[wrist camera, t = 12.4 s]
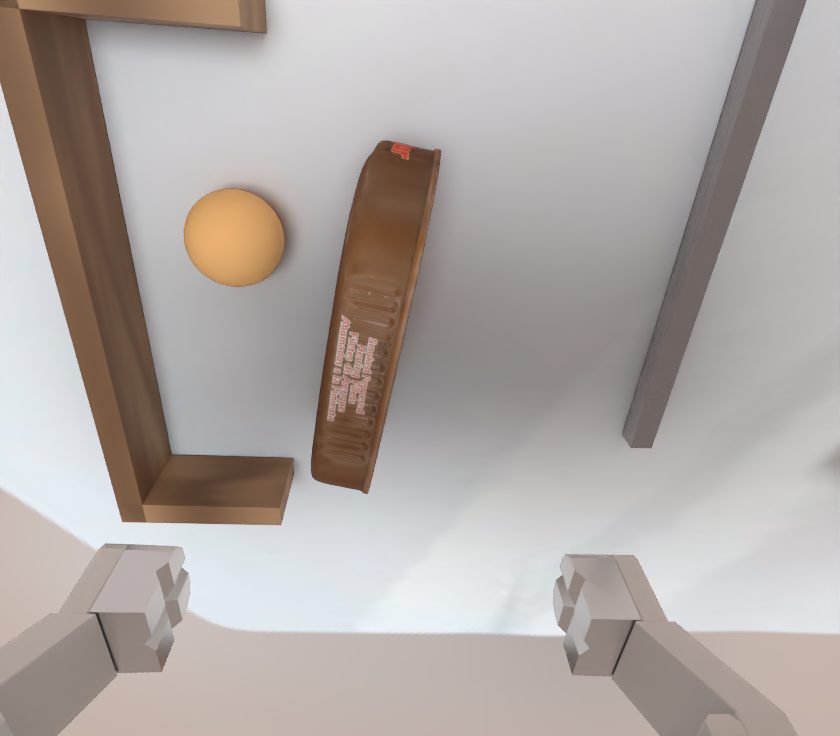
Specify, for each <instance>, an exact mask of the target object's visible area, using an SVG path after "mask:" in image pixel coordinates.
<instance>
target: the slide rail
mask: <svg viewBox="0 0 840 736" xmlns="http://www.w3.org/2000/svg"><path fill="white" fill-rule="evenodd" d="M805 3H806V0H757V1H756V4H755V7H754V11H753V14H752V17H751V20H750V24H749V27H748V30H747V33H746V37H745V40H744V43H743V46H742V50H741V53H740V56H739V59H738V62H737V66H736V69H735V72H734V75H733V79H732V82H731V85H730V88H729V92H728V95H727V98H726V101H725V105H724V108H723V111H722V114H721V118H720V121H719V124H718V127H717V130H716V134H715V137H714V140H713V143H712V147H711V150H710V153H709V156H708V160H707V163H706V166H705V169H704V173H703V176H702V179H701V182H700V186H699V189H698V192H697V195H696V198H695V202H694V205H693V208H692V211H691V215H690V218H689V221H688V224H687V228H686V231H685V234H684V237H683V241H682V244H681V247H680V250H679V254H678V257H677V260H676V263H675V266H674V270H673V273H672V276H671V279H670V283H669V286H668V289H667V292H666V296H665V299H664V302H663V305H662V309H661V312H660V315H659V318H658V322H657V325H656V328H655V331H654V334H653V338H652V341H651V344H650V347H649V351H648V354H647V357H646V360H645V364H644V367H643V370H642V373H641V377H640V380H639V383H638V386H637V390H636V393H635V396H634V399H633V402H632V406H631V409H630V412H629V415H628V419H627V422H626V425H625V428H624V432H623V436H624V438H625V439H626V441H627V443H628V444H629V446H630V448H652V445H653V442H654V439H655V436H656V433H657V430H658V427H659V425H660V422H661V419H662V416H663V413H664V410H665V407H666V404H667V401H668V399H669V396H670V393H671V390H672V387H673V384H674V381H675V378H676V375H677V373H678V370H679V367H680V364H681V361H682V358H683V355H684V352H685V349H686V347H687V344H688V341H689V338H690V335H691V332H692V329H693V326H694V323H695V321H696V318H697V315H698V312H699V309H700V306H701V303H702V300H703V297H704V295H705V292H706V289H707V286H708V283H709V280H710V277H711V274H712V272H713V269H714V266H715V263H716V260H717V257H718V254H719V251H720V248H721V246H722V243H723V240H724V237H725V234H726V231H727V228H728V225H729V222H730V220H731V217H732V214H733V211H734V208H735V205H736V202H737V199H738V196H739V194H740V191H741V188H742V185H743V182H744V179H745V176H746V173H747V170H748V168H749V165H750V162H751V159H752V156H753V153H754V150H755V147H756V144H757V142H758V139H759V136H760V133H761V130H762V127H763V124H764V121H765V118H766V116H767V113H768V110H769V107H770V104H771V101H772V98H773V95H774V92H775V90H776V87H777V84H778V81H779V78H780V75H781V72H782V69H783V66H784V64H785V61H786V58H787V55H788V52H789V49H790V46H791V43H792V40H793V38H794V35H795V32H796V29H797V26H798V23H799V20H800V17H801V14H802V12H803V9H804V6H805Z"/></svg>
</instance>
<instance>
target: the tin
mask: <svg viewBox="0 0 840 736" xmlns="http://www.w3.org/2000/svg"><path fill="white" fill-rule="evenodd" d="M440 157H441V150H439V149H436V150H434V151H431V150H426V149H421V148H417V147H413V146H409V145H405V144H401V143H397V142H392V141H381V142H380V143H378V145H377V146H376V148H375V150H374V151H373V153H372V154H371V155H370V156H369V157H368V159H367V160H366V162H365V164H364V166H363V168H362V171H361V174H360V177H359V180H358V184H357V187H356V191H355V195H354V199H353V203H352V207H351V211H350V215H349V220H348V225H347V230H346V235H345V240H344V245H343V250H342V256H341V262H340V267H339V272H338V278H337V284H336V290H335V297H334V303H333V310H332V316H331V322H330V328H329V335H328V341H327V347H326V354H325V360H324V367H323V374H322V381H321V388H320V395H319V403H318V409H317V416H316V425H315V433H314V440H313V447H312V457H311V473H312V477H313V478H314V479H315V480H317V481H319V482H322V483H326V484H330V485H336V486H341V487H346V488H351V489H357V490H361V491H362V492H363V493H365V494H368V491H369V488H370V484H371V479H372V476H373V472H374V467H375V463H376V459H377V455H378V450H379V445H380V441H381V437H382V433H383V428H384V424H385V420H386V415H387V411H388V406H389V401H390V397H391V392H392V387H393V383H394V379H395V375H396V370H397V366H398V361H399V357H400V352H401V348H402V344H403V339H404V335H405V330H406V325H407V322H408V318H409V313H410V309H411V305H412V300H413V296H414V291H415V287H416V283H417V278H418V273H419V268H420V264H421V258H422V253H423V249H424V245H425V240H426V236H427V229H428V224H429V220H430V214H431V210H432V206H433V200H434V195H435V190H436V184H437V178H438V172H439V165H440Z"/></svg>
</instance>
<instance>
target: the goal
mask: <svg viewBox="0 0 840 736" xmlns="http://www.w3.org/2000/svg"><path fill="white" fill-rule="evenodd" d="M84 19H92V20H105V21H117V22H130V23H142V24H155V25H168V26H180V27H193V28H205V29H218V30H230V31H243V32H255V33H267V29H266V13H265V0H0V83H1V87H2V90H3V94H4V98H5V101H6V105H7V108H8V112H9V116H10V119H11V123H12V126H13V130H14V134H15V137H16V141H17V144H18V148H19V152H20V155H21V159H22V162H23V166H24V170H25V173H26V177H27V180H28V184H29V188H30V191H31V195H32V198H33V202H34V206H35V209H36V213H37V216H38V220H39V224H40V227H41V231H42V234H43V238H44V242H45V245H46V249H47V252H48V256H49V260H50V263H51V267H52V270H53V274H54V278H55V281H56V285H57V288H58V292H59V296H60V299H61V303H62V306H63V310H64V314H65V317H66V321H67V324H68V328H69V332H70V335H71V339H72V342H73V346H74V350H75V353H76V357H77V360H78V364H79V368H80V371H81V375H82V378H83V382H84V386H85V389H86V393H87V396H88V400H89V404H90V407H91V411H92V414H93V418H94V422H95V425H96V429H97V432H98V436H99V440H100V443H101V447H102V450H103V454H104V458H105V461H106V465H107V468H108V472H109V476H110V479H111V483H112V486H113V490H114V494H115V497H116V501H117V504H118V508H119V512H120V515H121V519H122V522H149V523H199V524H249V525H281V523H282V519H283V515H284V511H285V507H286V504H287V500H288V496H289V492H290V488H291V484H292V480H293V476H294V468H293V458H268V457H233V456H197V455H171V450H170V445H169V440H168V435H167V430H166V425H165V420H164V415H163V410H162V405H161V400H160V395H159V390H158V385H157V380H156V375H155V370H154V365H153V360H152V355H151V350H150V345H149V340H148V335H147V330H146V325H145V320H144V315H143V310H142V305H141V300H140V295H139V290H138V285H137V280H136V275H135V270H134V265H133V260H132V255H131V250H130V245H129V240H128V235H127V230H126V225H125V220H124V215H123V210H122V205H121V200H120V195H119V190H118V185H117V180H116V175H115V170H114V165H113V160H112V155H111V150H110V145H109V140H108V135H107V130H106V125H105V120H104V115H103V110H102V105H101V100H100V95H99V90H98V85H97V80H96V75H95V70H94V65H93V60H92V55H91V50H90V45H89V40H88V35H87V30H86V25H85V20H84Z"/></svg>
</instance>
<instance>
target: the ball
mask: <svg viewBox="0 0 840 736" xmlns="http://www.w3.org/2000/svg"><path fill="white" fill-rule="evenodd" d="M184 242H185V247H186V250H187V252H188V255H189V257H190V259H191V261H192V262H193V264H194V265H195V266H196V267H197V269H198V270H199V271H200V272H201V273H203V274H204V275H205V276H207V277H208V278H210V279H211V280H213V281H215V282H217V283H220V284H223V285H227V286H233V287H243V286H249V285H253V284H256V283H258V282H260V281H262V280H264V279H265V278H267V277H268V276H269V275H270V274H271V273H272V272H273V271H274V270H275V269H276V267H277V266H278V264H279V263H280V260H281V258H282V255H283V251H284V232H283V228H282V225H281V222H280V220H279V218H278V216H277V215H276V213H275V212H274V210H273V209H272V208H271V207H270V206H269V205H268V204H267V203H266V202H265V201H264V200H262V199H261V198H260V197H258V196H256V195H254V194H252V193H250V192H247V191H243V190H239V189H222V190H217V191H214V192H211V193H209V194H207V195H205V196H204V197H202V198H201V199H200V200H199V201H198V202H196V204H195V205H194V206H193V207H192V209H191V210H190V212H189V214H188V216H187V218H186V221H185V226H184Z"/></svg>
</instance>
